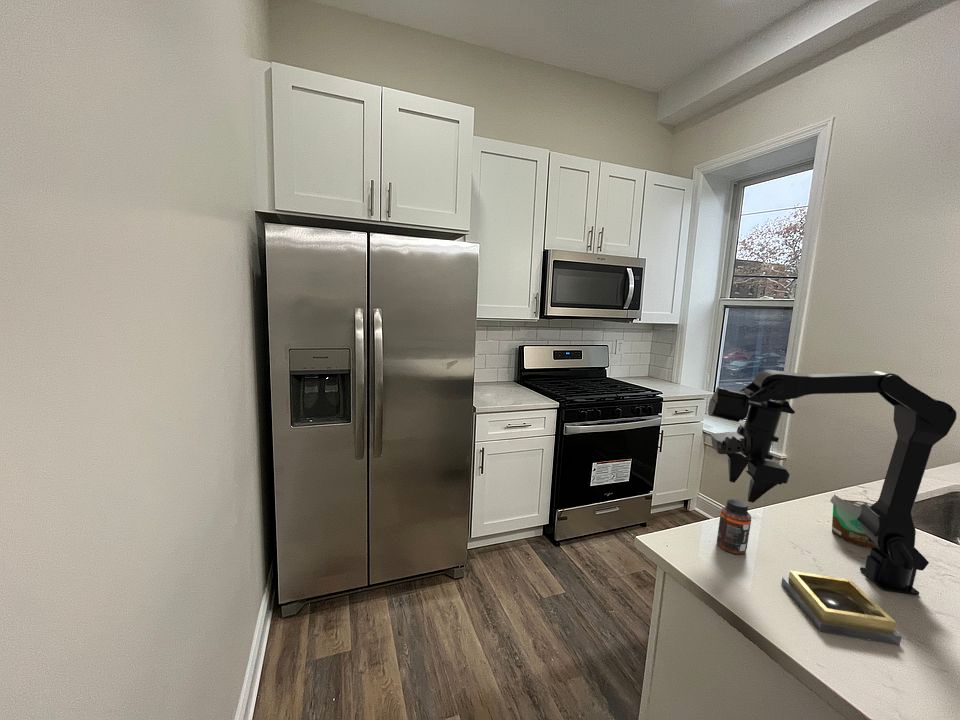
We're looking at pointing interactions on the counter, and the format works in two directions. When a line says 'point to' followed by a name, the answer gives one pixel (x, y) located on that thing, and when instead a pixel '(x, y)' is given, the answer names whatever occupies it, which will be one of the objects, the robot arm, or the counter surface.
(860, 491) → the counter surface
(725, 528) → the supplement bottle
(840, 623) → the gold-rimmed square tray
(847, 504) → the food container
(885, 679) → the counter surface
